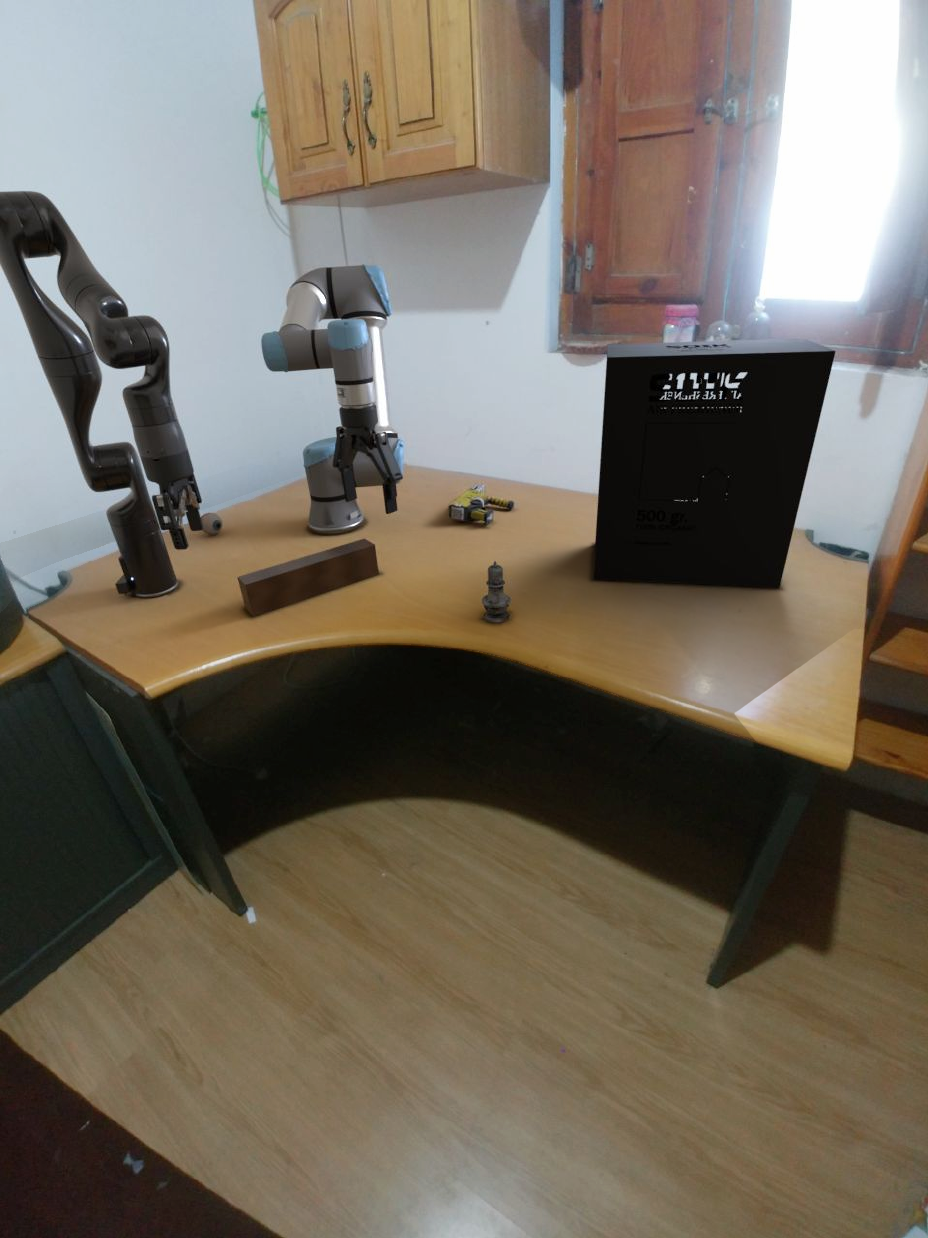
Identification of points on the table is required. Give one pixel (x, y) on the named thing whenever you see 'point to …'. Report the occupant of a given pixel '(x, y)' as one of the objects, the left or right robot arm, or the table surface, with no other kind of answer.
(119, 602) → the table surface
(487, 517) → the toy gun
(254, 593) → the plank
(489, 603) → the grey tall turned piece
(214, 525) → the eyeball
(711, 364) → the cardboard box
